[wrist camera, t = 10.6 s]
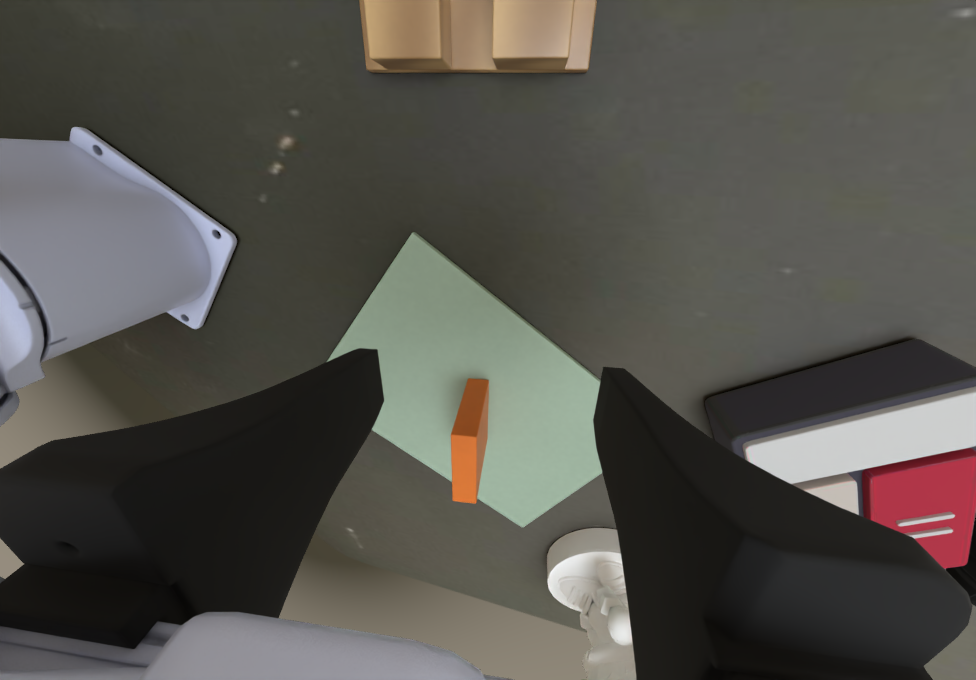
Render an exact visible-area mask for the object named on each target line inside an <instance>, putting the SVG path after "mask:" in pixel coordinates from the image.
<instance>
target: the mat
mask: <svg viewBox="0 0 976 680" xmlns="http://www.w3.org/2000/svg"><path fill="white" fill-rule="evenodd" d="M358 348H366V349H378V356H379V364H380V372H381V379H382V387H383V394H384V403H383V405H382V408H381V410H380V413H379V415H378V418H377V420H376V422H375V424H374V426H373V428H372V430H373V431H375V432H376V433H378V434H379V435H381V436H382V437H384V438H385V439H387V440H388V441H390V442H391V443H393V444H395V445H396V446H398V447H399V448H401V449H402V450H404V451H405V452H407V453H408V454H410V455H411V456H413V457H415V458H416V459H418V460H419V461H421V462H422V463H424V464H425V465H427V466H428V467H430V468H431V469H433V470H435V471H436V472H438V473H439V474H441V475H442V476H444V477H445V478H447V479H448V480H450V481H451V482H452V463H451V432H452V429H453V425H454V422H455V419H456V416H457V413H458V409H459V406H460V403H461V400H462V397H463V393H464V390H465V387H466V384H467V381H468V379H469V378H471V379H483V380H489V403H488V439H487V444H486V450H485V456H484V462H483V467H482V473H481V479H480V485H479V490H478V496H477V498H478V499H479V500H481V501H482V502H484V503H485V504H487V505H488V506H490V507H491V508H493V509H495V510H496V511H498V512H499V513H501V514H502V515H504V516H505V517H507V518H508V519H510V520H511V521H513V522H515V523H516V524H518V525H519V526H521V527H522V528H523V527H524V526H526V525H527V524H529V523H530V522H531V521H533V520H534V519H536V518H537V517H539V516H540V515H542V514H543V513H545V512H546V511H547V510H549V509H550V508H552V507H553V506H555V505H556V504H558V503H559V502H560V501H562V500H563V499H565V498H566V497H568V496H569V495H571V494H572V493H573V492H575V491H576V490H578V489H579V488H581V487H582V486H584V485H585V484H587V483H588V482H589V481H591V480H592V479H594V478H595V477H597V476H598V475H600V474H601V473H602V469H601V465H600V461H599V457H598V453H597V449H596V441H595V433H594V424H593V418H594V413H595V408H596V402H597V397H598V392H599V387H600V382H601V380H600V379H598V378H597V377H596V376H595V375H593V374H592V373H591V372H590V371H588V370H587V369H586V368H585V367H583V366H582V365H581V364H580V363H578V362H577V361H576V360H575V359H573V358H572V357H571V356H570V355H568V354H567V353H566V352H565V351H563V350H562V349H561V348H560V347H558V346H557V345H556V344H555V343H553V342H552V341H551V340H550V339H548V338H547V337H546V336H545V335H543V334H542V333H541V332H540V331H538V330H537V329H536V328H535V327H533V326H532V325H531V324H530V323H528V322H527V321H526V320H525V319H523V318H522V317H521V316H520V315H518V314H517V313H516V312H515V311H513V310H512V309H511V308H510V307H508V306H507V305H506V304H505V303H503V302H502V301H501V300H500V299H498V298H497V297H496V296H495V295H493V294H492V293H491V292H490V291H488V290H487V289H486V288H485V287H483V286H482V285H481V284H480V283H478V282H477V281H476V280H474V279H473V278H472V277H471V276H469V275H468V274H467V273H466V272H464V271H463V270H462V269H461V268H459V267H458V266H457V265H456V264H454V263H453V262H452V261H451V260H449V259H448V258H447V257H446V256H444V255H443V254H442V253H441V252H439V251H438V250H437V249H436V248H434V247H433V246H432V245H431V244H429V243H428V242H427V241H426V240H424V239H423V238H422V237H421V236H419V235H418V234H417V233H416V232H413V233H412V234H411V235H410V237H409V238H408V240H407V241H406V243H405V244H404V246H403V247H402V249H401V250H400V252H399V253H398V255H397V256H396V258H395V259H394V261H393V262H392V264H391V265H390V267H389V268H388V270H387V271H386V273H385V274H384V276H383V277H382V279H381V280H380V282H379V284H378V285H377V287H376V288H375V290H374V291H373V293H372V294H371V296H370V297H369V299H368V300H367V302H366V303H365V305H364V306H363V308H362V309H361V311H360V312H359V314H358V315H357V317H356V318H355V320H354V321H353V323H352V324H351V326H350V327H349V329H348V330H347V332H346V333H345V335H344V336H343V338H342V339H341V341H340V342H339V344H338V345H337V347H336V348H335V350H334V351H333V353H332V354H331V356H330V357H329V359H328V360H327V362H328V361H330V360H332V359H334V358H337V357H339V356H341V355H343V354H345V353H348V352H350V351H353V350H355V349H358Z"/></svg>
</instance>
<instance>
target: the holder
mask: <svg viewBox="0 0 976 680" xmlns="http://www.w3.org/2000/svg"><path fill="white" fill-rule="evenodd" d="M359 3H360V12H361V22H362V31H363V41H364V50H365V60H366V69H367V70H368V71H370V72H372V73H586V72H587V71H588V69H589V62H590V54H591V45H592V37H593V29H594V20H595V12H596V4H597V0H359Z"/></svg>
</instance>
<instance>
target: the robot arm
mask: <svg viewBox="0 0 976 680" xmlns="http://www.w3.org/2000/svg"><path fill="white" fill-rule="evenodd" d="M101 150H102V152H101ZM217 231H219V232H220V234H221V237H220V236H219V235H218V233H217ZM236 245H237V239H236V237H235V235H234V234H233V233H232V232H231V231H229V230H228V229H227V228H225V227H224V226H222V225H221V224H219V223H218V222H217V221H215V220H214V219H212V218H211V217H210V216H208V215H207V214H205V213H204V212H203V211H201V210H200V209H198V208H197V207H196V206H194V205H193V204H191V203H190V202H189V201H187V200H186V199H184V198H183V197H182V196H180V195H179V194H177V193H176V192H175V191H173V190H172V189H170V188H169V187H168V186H166V185H165V184H163V183H162V182H161V181H159V180H158V179H156V178H155V177H154V176H152V175H151V174H149V173H148V172H146V171H145V170H144V169H142V168H141V167H139V166H138V165H137V164H135V163H134V162H132V161H131V160H130V159H128V158H127V157H125V156H124V155H123V154H121V153H120V152H118V151H117V150H116V149H114V148H113V147H111V146H110V145H109V144H107V143H106V142H104V141H103V140H102V139H100V138H99V137H97V136H96V135H95V134H93V133H92V132H90V131H89V130H88V129H86V128H82V127H73V128H72V129H71V133H70V140H69V141H51V140H28V139H5V138H0V426H1V425H3V424H4V423H5V422H6V421H7V420H8V419H9V418H10V417H11V416H12V415H13V414H14V413H15V411H16V410H17V408H18V405H19V397H18V395H17V393H16V390H18V389H20V388H23V387H25V386H27V385H29V384H32V383H34V382H36V381H39V380H41V379H43V378H45V374H44V372H43V370H42V367H41V362H44V361H46V360H48V359H51V358H54V357H56V356H59V355H61V354H63V353H66V352H68V351H71V350H73V349H76V348H78V347H81V346H83V345H86V344H88V343H91V342H93V341H96V340H98V339H101V338H103V337H105V336H108V335H110V334H113V333H115V332H118V331H120V330H123V329H125V328H128V327H130V326H133V325H135V324H138V323H140V322H142V321H145V320H147V319H150V318H152V317H155V316H157V315H160V314H162V313H165V312H167V313H169V314H170V315H172V316H173V317H175V318H176V319H178V320H180V321H181V322H183V323H184V324H186V325H187V326H189V327H191V328H193V329H198V328H200V327H202V326H203V324H204V322H205V320H206V317H207V315H208V312H209V310H210V307H211V305H212V303H213V300H214V298H215V295H216V293H217V291H218V288H219V286H220V283H221V281H222V278H223V276H224V274H225V271H226V269H227V266H228V264H229V261H230V259H231V257H232V254H233V252H234V249H235V247H236ZM383 403H384V394H383V387H382V379H381V372H380V364H379V356H378V349H366V348H358V349H355V350H353V351H350V352H348V353H345V354H343V355H341V356H339V357H337V358H334V359H332V360H330V361H328V362H326V363H324V364H322V365H320V366H318V367H315V368H313V369H311V370H309V371H307V372H305V373H303V374H300V375H298V376H296V377H293V378H291V379H289V380H286V381H284V382H282V383H280V384H277V385H275V386H273V387H270V388H268V389H265V390H262V391H260V392H257V393H255V394H252V395H249V396H246V397H243V398H240V399H237V400H234V401H231V402H228V403H225V404H222V405H218V406H215V407H211V408H208V409H204V410H201V411H197V412H194V413H190V414H187V415H183V416H179V417H175V418H171V419H167V420H162V421H159V422H154V423H149V424H144V425H139V426H135V427H130V428H124V429H119V430H114V431H108V432H102V433H96V434H90V435H85V436H78V437H72V438H66V439H60V440H53V441H50V442H48V443H46V444H44V445H41V446H40V447H37V448H36V449H34V450H32V451H31V452H29V453H27V454H25V455H23V456H22V457H20V458H19V459H17V460H15V461H13V462H11V463H10V464H8V465H6V466H4V467H3V468H1V469H0V538H1V539H2V540H3V541H4V543H5V544H6V545H7V546H8V547H9V548H10V549H11V550H12V551H13V552H14V553H15V555H16V556H17V557H18V558H19V559H20V560H21V561H22V562H23V563H25V564H24V565H23V566H21V567H20V568H19V569H18V570H17V571H15V572H14V573H12V574H11V575H10V576H9V577H7V578H6V579H4V578H2V577H0V680H513V679H507V678H501V677H495V676H489V675H483V674H482V673H481V671H480V669H478V668H477V667H475V666H474V665H472V664H471V663H469V662H468V661H466V660H465V659H463V658H462V657H460V656H459V655H457V654H456V653H454V652H453V651H450V650H447V649H444V648H440V647H436V646H433V645H430V644H427V643H423V642H420V641H416V640H413V639H407V638H400V637H394V636H388V635H381V634H375V633H369V632H362V631H355V630H350V629H343V628H336V627H330V626H324V625H318V624H311V623H305V622H299V621H292V620H286V619H280V618H279V615H280V612H281V610H282V607H283V605H284V602H285V600H286V597H287V595H288V592H289V590H290V588H291V585H292V582H293V580H294V578H295V575H296V573H297V571H298V568H299V566H300V563H301V561H302V559H303V556H304V554H305V552H306V550H307V548H308V545H309V543H310V541H311V539H312V536H313V534H314V532H315V530H316V527H317V525H318V523H319V521H320V519H321V517H322V515H323V513H324V511H325V509H326V507H327V505H328V502H329V500H330V498H331V496H332V495H333V493H334V491H335V489H336V487H337V486H338V484H339V482H340V480H341V479H342V477H343V476H344V474H345V472H346V471H347V469H348V468H349V466H350V464H351V463H352V461H353V459H354V458H355V456H356V455H357V453H358V451H359V450H360V448H361V446H362V445H363V443H364V442H365V440H366V438H367V437H368V435H369V433H370V432H371V430H372V428H373V426H374V424H375V422H376V420H377V418H378V415H379V413H380V410H381V408H382V405H383ZM593 424H594V433H595V441H596V449H597V453H598V457H599V461H600V465H601V469H602V473H603V476H604V480H605V484H606V488H607V491H608V495H609V499H610V503H611V507H612V510H613V514H614V519H615V523H616V528H617V533H618V539H619V546H620V552H621V559H622V565H623V572H624V580H625V587H626V594H627V601H628V609H629V617H630V626H631V634H632V642H633V651H634V660H635V669H636V679H637V680H933V679H932V678H931V677H930V675H929V674H928V673H927V671H926V670H925V669H924V668H923V666H924V665H925V664H926V663H928V662H929V661H930V660H931V659H932V658H933V657H935V656H936V655H937V654H938V653H939V652H940V651H942V650H943V649H944V648H945V647H946V646H947V645H949V644H950V643H951V642H952V641H953V640H954V639H956V638H957V637H958V636H959V635H960V633H961V632H962V631H963V630H964V629H965V627H966V626H967V625H968V622H969V619H970V615H971V611H972V603H971V601H970V598H969V595H968V592H967V591H966V590H965V589H964V588H963V587H962V586H961V585H960V584H959V583H958V582H957V581H956V580H955V579H954V578H953V577H952V576H951V575H950V574H949V573H948V572H947V571H946V570H945V569H944V568H943V567H942V566H941V565H940V564H939V563H938V562H937V561H936V560H935V559H934V558H933V557H932V556H931V555H930V554H929V553H928V552H927V551H926V550H925V549H924V548H923V547H922V546H921V545H920V544H919V543H918V542H917V541H916V540H915V539H914V538H913V537H911V536H908V535H906V534H903V533H901V532H898V531H896V530H894V529H891V528H889V527H886V526H884V525H882V524H879V523H877V522H874V521H872V520H869V519H867V518H865V517H862V516H860V515H857V514H855V513H853V512H850V511H848V510H845V509H843V508H841V507H838V506H836V505H834V504H832V503H830V502H827V501H825V500H823V499H821V498H819V497H817V496H815V495H813V494H810V493H808V492H806V491H804V490H802V489H800V488H798V487H796V486H794V485H792V484H790V483H788V482H786V481H784V480H782V479H780V478H778V477H776V476H774V475H772V474H771V473H769V472H767V471H765V470H763V469H761V468H760V467H758V466H756V465H754V464H752V463H751V462H749V461H747V460H745V459H744V458H742V457H740V456H738V455H737V454H735V453H733V452H732V451H730V450H729V449H727V448H726V447H724V446H722V445H721V444H719V443H718V442H716V441H715V440H713V439H712V438H710V437H708V436H707V435H706V434H704V433H703V432H701V431H700V430H698V429H697V428H696V427H694V426H693V425H692V424H690V423H689V422H688V421H686V420H685V419H684V418H682V417H681V416H680V415H678V414H677V413H676V412H675V411H673V410H672V409H671V408H670V407H668V406H667V405H666V404H665V403H664V402H662V401H661V400H660V399H659V398H658V397H656V396H655V395H654V394H653V393H652V392H651V391H650V390H648V389H647V388H646V387H645V386H644V385H643V384H642V383H641V382H639V381H638V380H637V379H636V378H635V377H634V376H633V375H631V374H630V373H629V372H628V371H626V370H625V369H623V368H611V367H603V371H602V376H601V382H600V387H599V392H598V397H597V402H596V408H595V413H594V418H593Z"/></svg>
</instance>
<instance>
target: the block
mask: <svg viewBox="0 0 976 680" xmlns="http://www.w3.org/2000/svg"><path fill="white" fill-rule="evenodd" d="M488 403H489V380H483V379H471V378H469V379H468V381H467V384H466V387H465V390H464V393H463V397H462V400H461V403H460V406H459V409H458V413H457V416H456V419H455V422H454V425H453V429H452V432H451V463H452V494H453V501H458V502H467V503H476V502H477V496H478V490H479V485H480V479H481V473H482V467H483V462H484V456H485V450H486V444H487V439H488Z"/></svg>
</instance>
